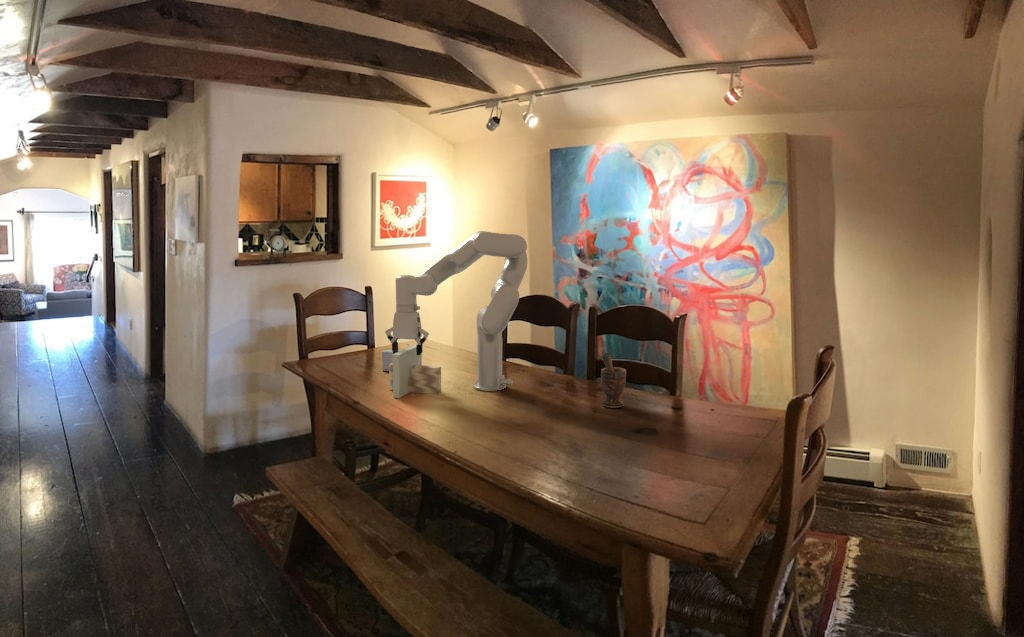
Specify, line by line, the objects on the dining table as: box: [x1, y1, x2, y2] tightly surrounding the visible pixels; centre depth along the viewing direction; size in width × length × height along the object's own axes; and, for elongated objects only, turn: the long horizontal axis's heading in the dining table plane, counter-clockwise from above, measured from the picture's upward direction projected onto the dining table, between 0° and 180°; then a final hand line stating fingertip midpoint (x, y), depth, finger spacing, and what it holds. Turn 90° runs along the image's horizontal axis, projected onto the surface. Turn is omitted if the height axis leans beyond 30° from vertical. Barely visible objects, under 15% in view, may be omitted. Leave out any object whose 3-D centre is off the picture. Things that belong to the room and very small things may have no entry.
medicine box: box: [381, 349, 403, 372], centre depth 283 cm, size 8×4×9 cm, turn 84°
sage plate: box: [392, 343, 423, 399], centre depth 250 cm, size 20×2×16 cm, turn 164°
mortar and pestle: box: [600, 353, 627, 406], centre depth 230 cm, size 12×9×20 cm
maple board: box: [388, 363, 442, 395], centre depth 250 cm, size 20×2×10 cm, turn 74°
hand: (407, 353), depth 249 cm, fingers open, 9 cm apart
